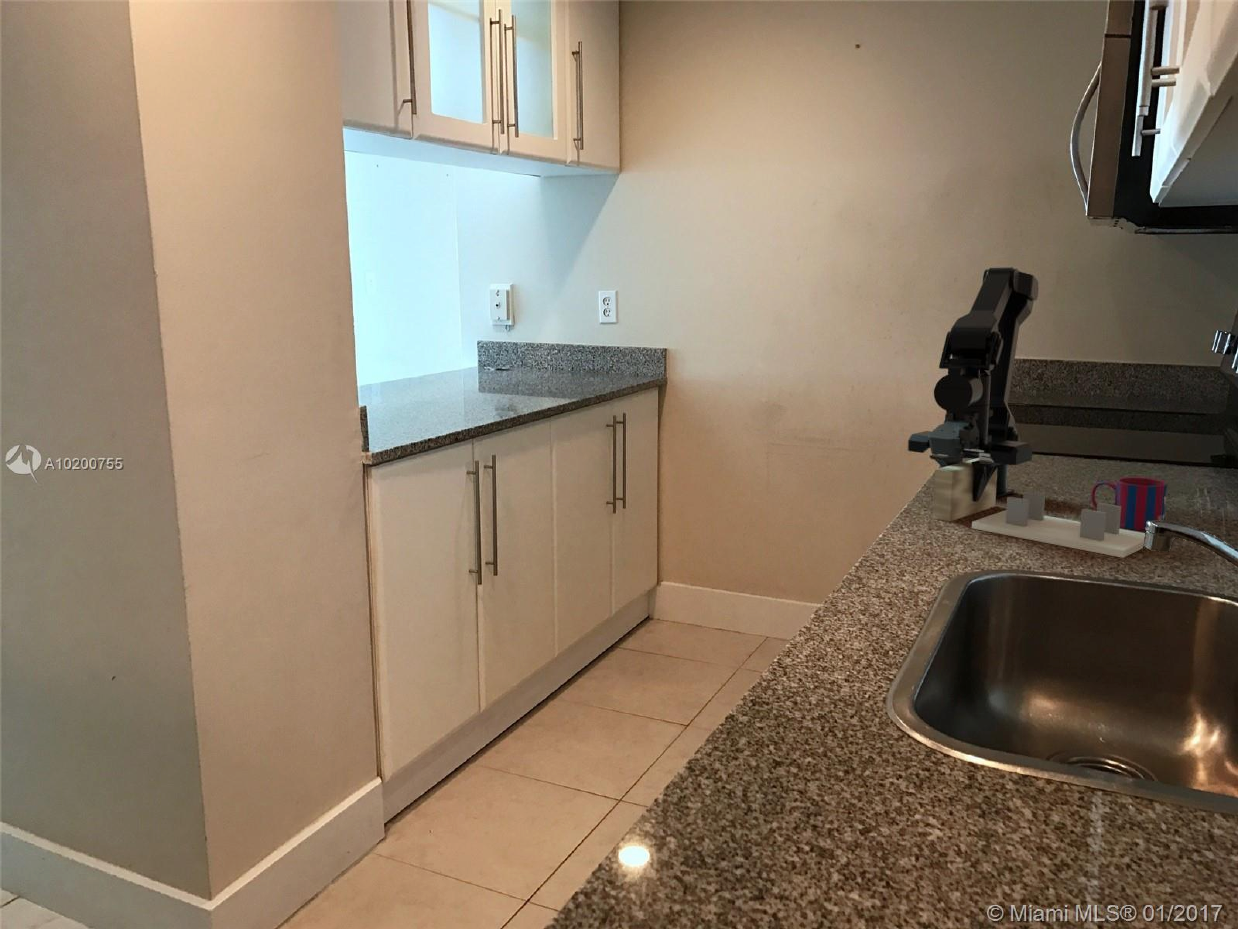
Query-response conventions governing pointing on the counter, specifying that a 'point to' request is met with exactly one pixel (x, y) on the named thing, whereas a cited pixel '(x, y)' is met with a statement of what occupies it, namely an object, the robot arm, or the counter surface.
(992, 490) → the wooden block
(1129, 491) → the mug
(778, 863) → the counter surface
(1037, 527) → the white slotted rack
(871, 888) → the counter surface
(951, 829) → the counter surface
